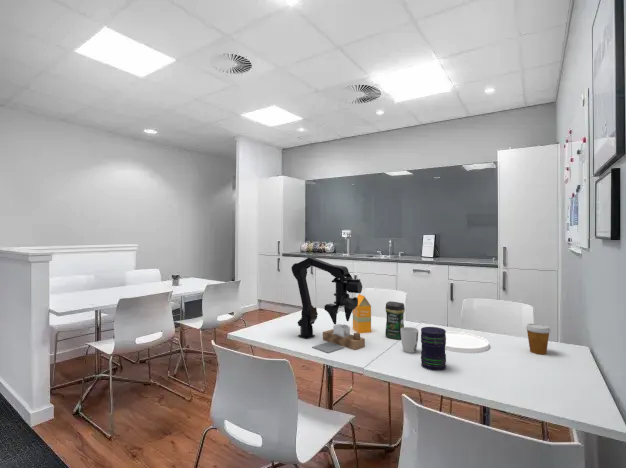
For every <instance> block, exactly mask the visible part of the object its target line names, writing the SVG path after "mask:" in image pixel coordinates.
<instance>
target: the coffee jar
mask: <svg viewBox="0 0 626 468" xmlns="http://www.w3.org/2000/svg"><path fill="white" fill-rule="evenodd" d="M384 311H385V314H386V324H385V337H387V338H390V339H393V340H401V330H400V329H401V328H403V327H405V324H404V315H405V304H404V303H403V302H399V301H398V302H397V301H387V302H386V303H385V310H384Z"/></svg>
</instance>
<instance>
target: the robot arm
mask: <svg viewBox="0 0 626 468" xmlns="http://www.w3.org/2000/svg"><path fill="white" fill-rule="evenodd" d="M311 267H314V268H317V269H319V270H322V271H323V272H324V271H325V272H327V273H329V274H330V275H331V276H332V277H334V278H333V279H332V280H331V282H332V283H335V293H333V296H335V301H333V303H327V304H325V305H323V306H324V311H326V312H327V313H328V315H329V317H330V318H331V321H332V324H333V325H337V319H338V318H337V314H338V313H339V309H341V308H344V309H343V310H344V314H345V319H346V322H349V321H350V318H351V315H352V314H353V310H354V309H355V308H356V307H358V298H357V297H354V296H353V297H350V294H351V293H352V294H361V293H362V292H363V284H362V282H361V279H360V278H358V279H357V278H353V277H352V275H351V273H350V272H349V269H348V267H347V266H344V265H338V264H331V263H329V262H327V261H326V262H325V261H324V260H321V259H318V258H315V256H312V257H311V256H310V257H306V258H305V259H303V260H302V261H299V262H296V263H295V262H294V263H293V264H292V266H291V272H292V274H293V277H294V279H296V281H297V286H298V290H299V291H298V292H299V294H300V300H301V306H302V308H301V312H300V313H301V318H300V319H299V320H298V321H297V326H298V327H299V329H300V334H298V335H297V336H298V337H299V338H302V339H305V340H306V339H310V338H313V337H315V336H316V335H315V334H314V327H313V324H315V322H316V321H317V319H318V315H319V313H318V311H317V307H316V306H315V307H314V306H313V305H312V300H311V297H310V296H311V295H310V291H309V286H308V281H307V275H308V269H309V268H311ZM349 293H350V294H349Z"/></svg>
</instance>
